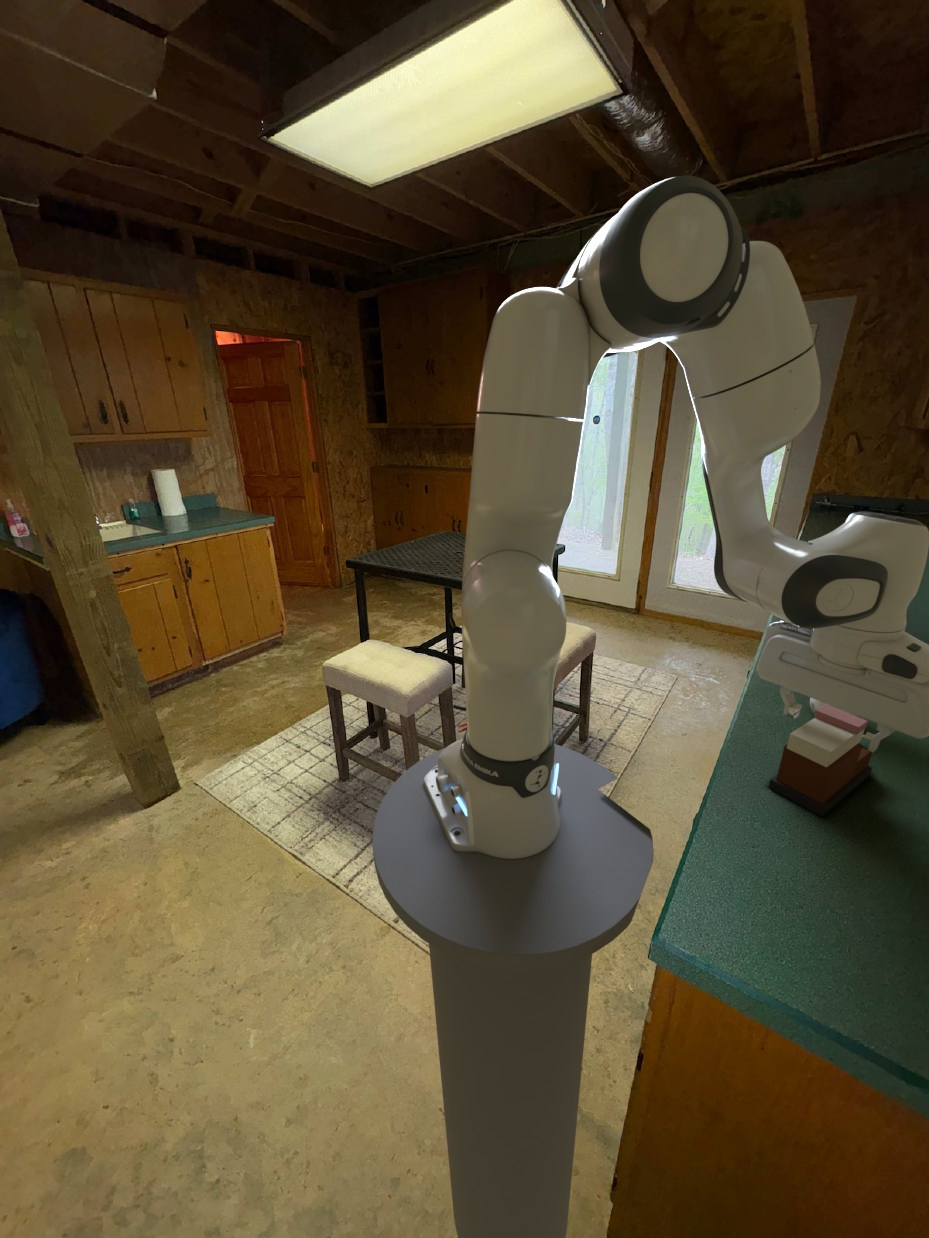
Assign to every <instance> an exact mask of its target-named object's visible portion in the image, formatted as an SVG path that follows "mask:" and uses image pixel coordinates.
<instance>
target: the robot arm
mask: <svg viewBox="0 0 929 1238" xmlns="http://www.w3.org/2000/svg"><path fill="white" fill-rule="evenodd" d="M799 289H800V288H799V287H798V284H797V282H796V280H795V277H794V275H793V272H792V270H791V268H790V265H789V264H788V262H787V261H786V258H785V256H784V254H783V253H782V251H781V249H780V248H778V247H777V245H774V244H773V243H772V242H769V241H766V240H765V241H764V240H750V237H749V234H748V233H747V231H746V230H745V229H744V228H743V227H742V226H741V223H740V220H739V218H738V215H737V214H736V212H735V209H734V208H733V206H732V204H731V203H730V201H729V200H728V199H727V197H726V196H725V194H723V193H722V192H721V190H719V188H717V187H716V186H715V185H714V184H712V183H711V182H709V181H707V180H705V179H704V178H701V177H699V176H694V175H679V176H678V175H677V176H673V177H669V178H665V179H663V180H660V181H658V182H656V183H654V184H651V185H649V186H648V187H646V188H645V189H642V190H641V191H639V192H638V193H636V194H635V195H634V196H633V197H631V198H630V199H629V200H627V202H626V203H625V204H624V205H623V206H622V208H620V209H619V211H618V213H616V214H615V215H614V216H612V217H611V218H610V219H609V220H607V221H606V222H605V223H603V224H602V225H601V226H600V227H599V228H597V230H596V231H595V232H594V233H593V235H592V236H591V237H590V239H589V240H587V242H586V244H585V245H584V246H583V248H582V249H581V250H580V252H579V254H578V255H577V256H576V258H574V259H573V261H572V262H571V263H570V264H569V266H568V268H567V269H566V271H565V272H564V274H563V275H562V277H561V279H560V281H559V282H558V283H557V285H556V287H555V288H554V287H548V286H537V287H531V288H526V289H523V290H520V291H518V292H516V293H514V294H512V295H510V296H509V297H507V298H506V299H505V300H504V301H503V302H502V303H501V305H500V306H499V307H498V309H497V310H496V312H495V315H494V317H493V320H492V324H491V327H490V331H489V335H488V339H487V343H486V347H485V352H484V357H483V361H482V367H481V373H480V378H479V385H478V386H479V387H478V393H477V403H476V411H475V412H476V414H475V425H474V437H473V450H472V462H471V476H470V485H469V487H470V488H469V498H468V499H469V500H468V511H467V519H466V520H467V522H466V533H465V541H464V542H465V545H464V553H463V554H464V555H463V566H462V577H461V578H462V579H461V609H460V610H461V611H460V617H461V619H460V621H461V638H462V655H463V671H464V672H463V673H464V686H465V687H464V688H465V690H464V691H465V706H461V705H457V704H453V706H452V708H453V709H455V710H459V711H463V712H466V713H465V715H466V721H465V722H463V723H461V724H459V725H457V727H458V728H460V729H458V730H457V733H462V732H464V731H465V732H464V735H463V737H462V738H460V739H458V740H456V741H454V742H452V743H450V744H449V745H447V746H446V747H444V748H445V749H444V748H443V749H444V750H443V751H442V752H441V753H440V755H439V757H438V765H437V766H435V767H434V768H433V769H431V770H430V771H429V772H428V773H427V774H426V776H425V777H424V787H425V789H426V791H427V793H428V796H429V798H430V800H431V802H432V805H433V807H434V809H435V811H436V813H437V816H438V818H439V820H440V822H441V825H442V827H443V829H444V831H445V834H446V836H447V838H448V840H449V842H450V845H451V847H452V848H453V849H454V850H456V851H462V852H473V851H476V852H481V853H484V854H487V855H490V856H494V857H498V858H505V859H518V858H525V857H529V856H532V855H535V854H537V853H539V852H541V851H543V850H544V849H546V848H547V847H548V846H550V845H551V844H552V843H553V841H554V840H555V839H556V837H557V835H558V833H559V830H560V815H559V809H558V806H559V803H560V801H561V789H560V788H559V787H558V786H557V777H558V769H559V764H557V765H556V766H555V757H554V751H555V744H556V742H555V735H554V732H553V730H552V729H553V728H552V727H553V707H554V706H553V705H554V703H553V702H554V688H555V687H554V686H555V679H556V675H557V670H558V667H559V663H560V657H561V651H562V648H563V646H564V644H565V640H566V635H567V607H566V606H567V605H566V600H565V598H564V595H563V592H562V590H561V589H560V587H559V585H558V583H557V582H556V580H555V577H554V572H553V563H554V555H555V553H556V548H557V544H558V540H559V536H560V533H561V531H562V527H563V523H564V521H565V518H566V515H567V512H568V510H569V508H570V507H571V504H572V502H573V497H574V491H575V484H576V479H577V471H578V466H579V460H580V453H581V446H582V439H583V432H584V427H585V420H586V414H587V407H588V397H589V387H590V386H591V384H592V380H593V377H594V374H595V372H596V369H597V367H598V366H599V364H600V362H601V360H602V359H605V358H608V357H612V356H615V355H618V354H620V353H622V352H623V353H624V352H634V351H639V350H642V349H644V348H647V347H650V346H652V345H654V344H656V343H658V342H660V343H662V344H664V345H666V347H668V348H669V349H670V350H671V351H672V352H673V353H674V355H675V356H676V358H677V359H678V361H679V363H680V365H681V367H682V368H683V372H684V376H685V380H686V384H687V388H688V391H689V396H690V399H691V402H692V405H693V410H694V412H695V416H696V420H697V423H698V424H697V425H698V428H699V433H700V439H701V440H700V441H701V446H700V459H701V460H700V461H701V467H702V473H703V479H704V484H705V488H706V493H707V498H708V504H709V508H710V512H711V513H710V514H711V518H712V523H713V528H714V533H715V552H714V553H715V554H714V560H713V574H714V579H715V581H716V583H717V586H718V587H719V588H720V589H721V590H722V591H723V593H725V594H726V595H728V596H729V597H732V598H734V599H737V600H739V601H743V602H745V603H748V604H750V605H752V606H754V607H756V608H758V609H760V610H762V611H763V612H765V613H768V614H769V615H772V616H774V617H776V618H778V619H781V620H780V621H775V622H772V623H770V624H769V625H768V626H767V629H766V631H765V636H764V641H765V645H764V647H763V649H762V651H761V653H760V656H759V659H758V662H757V665H756V673H757V674H758V675H757V676H758V677H759V678H760V679H761V680H764V681H767V682H770V683H771V684H774V685H777V686H780V687H779V694H780V697H781V699H782V702H783V704H784V709H783V713H782V715H784V716H787V717H789V718H791V719H793V720H795V719H797V718H798V717H799V716H800V715H801V710H802V707H803V705H802V704H800V703H798V702H797V701H796V696H795V694H794V693H798V694H800V695H803V696H805V697H808V698H810V697H811V698H813V699H816V700H818V701H821V702H824V703H826V704H829V705H831V706H834V707H837V708H839V709H842V710H844V711H847V712H850V713H852V714H855V715H857V717H859V718H862V719H864V720H867V721H870V722H873V723H875V724H877V725H876V730H877V731H878V732H877V733H876V734H875V733H872V732H869V731H867V732H866V733H865V734H863V736H862V738H861V741H860V742H859V743H860V745H859V747H862V748H864V749H866V750H869V751H871V752H872V753H874V752H875V751H877V749H878V748H879V746H880V742H881V741H882V740H883V739H886V738H887V737H890V735H892V734H893V733H894V732H895V731H896V732H899V733H902V734H904V735H907V736H910V737H912V738H913V739H918V740H921V739H925V738H928V737H929V644H928V643H926V642H924V641H922V640H921V639H918V638H917V637H915V636H913V635H911V634H910V633H908V632H906V627H907V624H908V622H907V620H908V619H907V612H908V607H909V606H910V604H911V603H912V601H913V599H914V598H915V597H916V596H917V594H918V591H919V588H920V586H921V582H922V579H923V576H924V572H925V568H926V564H927V560H928V555H929V529H928V527H927V525H925V524H924V523H922V522H921V521H920V520H917V519H913V518H908V517H903V516H898V515H891V514H885V513H880V512H874V511H864V510H863V511H862V510H861V511H857V512H856V511H855V512H852V513H850V514H849V515H848V517H847V518H846V520H845V522H844V523H842V524H841V525H840V526H838V527H837V528H835V529H833V530H832V531H830V532H828V533H826V534H824V535H822V536H820V537H817V538H814V539H812V540H808V541H804V540H801V539H798V538H794V537H791V536H788V535H786V534H784V533H783V532H781V531H779V530H778V529H777V528H776V527H775V526H774V525H773V524H772V523H771V522H770V520H769V517H768V513H767V506H766V499H765V492H764V491H765V490H764V485H763V484H764V483H763V477H762V466H763V462H764V460H765V459H766V457H768V456H769V455H772V454H773V453H775V452H778V450H780V449H782V448H784V447H785V446H787V445H788V444H790V443H791V442H792V441H794V440H795V439H796V438H797V437H798V436H799V435H800V434H801V433H802V432H803V431H804V430H805V429H806V427H808V425H809V423H810V422H811V420H812V419H813V418H814V416H815V414H816V412H817V410H818V407H819V405H820V402H821V401H820V400H821V390H822V389H821V387H822V382H821V381H822V380H821V379H822V378H821V369H820V364H819V359H818V355H817V350H816V345H815V341H814V336H813V332H812V328H811V324H810V320H809V316H808V313H807V309H806V306H805V303H804V301H803V298H802V295H801V292H800V290H799ZM456 835H458V836H456Z"/></svg>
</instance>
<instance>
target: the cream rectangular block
mask: <svg viewBox="0 0 929 1238" xmlns="http://www.w3.org/2000/svg"><path fill="white" fill-rule="evenodd" d="M868 723H869V720H868V719H865V718H863V717H860V716H854V715H851V714H849V713H846V712H844V711H841V710H838V709H836V708H833V707H831V706H828V705H825V704H824V705H822V706H821V707H819V708H818V709H816V710H815V713H813V718H811V720H809V721H807V722H805V724H802V725H801V726H800V727H798V728H797V729H795V730H794V731H792V732H790V734H789V738H788V741H787V744H788V745H787V744H786V745H787V749H789V750H791V751H793V752H795V753H798V754H800V755H802V756H804V757H806V758H808V759H810V760H812V761H814V762H816V763H819V764H821V765H823V766H825V767H828V766H829V765H831V764H832V763H833V762H834V761H836V760H837V759H838V758H840V757H841V756H842V755H844V754H845V753H846V752H847V751H849V750H850V749H851V748H853V747H854V746H855V745H857V744H858V743H861V738H862V736H863V735H864V732H865V730H866V728H867V726H868Z"/></svg>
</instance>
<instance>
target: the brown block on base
mask: <svg viewBox="0 0 929 1238" xmlns="http://www.w3.org/2000/svg"><path fill="white" fill-rule="evenodd" d="M860 743H861V742H859V743H858V744H857V745H855V746H854V747H853V748H851V749H850V750H849V751H847V752H846V753H845V754H844V755H842V756H841V757H840V758H838V759H837V760H836V761H834V762H833V763H832V764H831V765H829V766H828V767H825V766H823V765H821V764H819V763H816V762H814V761H812V760H810V759H808V758H806V757H804V756H802V755H800V754H798V753H795V752H793V751H791V750H789V749H787V745H788V743H786V744H785V745H784V746H783V751H782V755H781V759H780V763H779V767H778V770H777V774H776V775H775V776H773V777H772V778H770V779H769V780H770V781H769V784H768V789H770V790H772V791H774V792H776V793H778V794H779V795H782V796H784V797H785V798H786V799H789V800H790V801H792V802H794V803H795V804H798V805H799V806H801V807H803V808H805V809H806V810H808V811H811V812H812V813H814V814H816V815H818V816H820V817H824V815H826V814H827V813H828V812H829V811H831V809H833V808H834V807H835V806H836V805H837V804H838V803H840V802H841V801H842V800H843V799H844V798H845V797H846V796H847V795H849V794H850V793H851V792H852V791H853V790H854V789H855V788H857V787H858V786H859V785H860V784H861V783H862V782H864V781H865V780H866V779H867V778H868V777H870V776H871V773H872V772H873V766H871V765H869V764H870V760H871V758H872V755H873V752H871V751H869V750H866V749H864V748H862V747H859V745H860Z"/></svg>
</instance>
